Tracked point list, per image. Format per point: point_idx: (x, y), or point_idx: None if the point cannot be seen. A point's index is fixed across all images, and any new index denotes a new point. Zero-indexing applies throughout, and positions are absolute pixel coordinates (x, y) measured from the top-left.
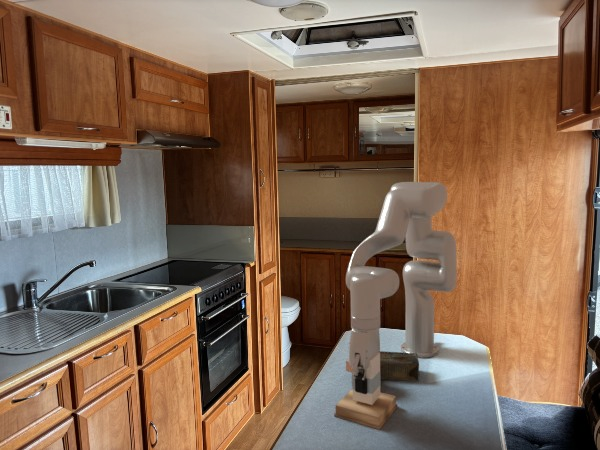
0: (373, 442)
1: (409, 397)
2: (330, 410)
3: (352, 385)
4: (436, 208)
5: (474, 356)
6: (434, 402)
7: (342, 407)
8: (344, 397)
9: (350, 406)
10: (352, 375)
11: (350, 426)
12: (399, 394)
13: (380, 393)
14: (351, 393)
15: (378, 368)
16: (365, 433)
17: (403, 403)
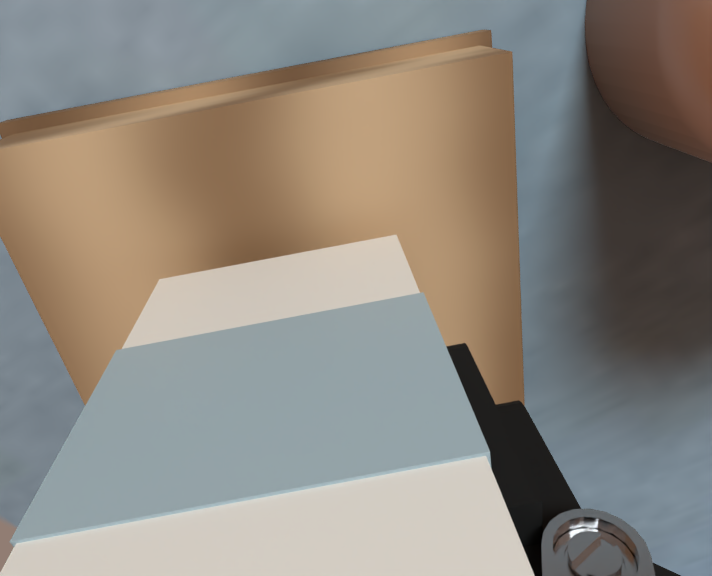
0: (24, 513)
1: (668, 400)
2: (52, 9)
3: (101, 386)
4: None
5: None
6: (668, 521)
7: (3, 242)
8: (180, 127)
9: (88, 293)
10: (21, 536)
11: (24, 321)
12: (684, 331)
13: (500, 357)
14: (319, 133)
15: None
16: (54, 437)
17: (566, 412)
